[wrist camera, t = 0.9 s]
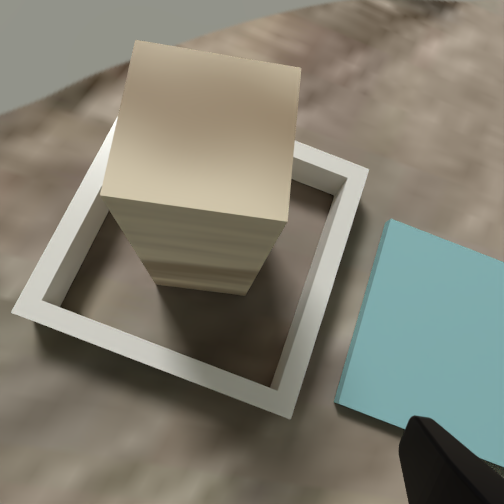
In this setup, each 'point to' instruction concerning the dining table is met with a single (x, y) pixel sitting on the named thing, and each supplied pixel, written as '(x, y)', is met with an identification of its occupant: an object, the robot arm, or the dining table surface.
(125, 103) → the birch block
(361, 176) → the tray
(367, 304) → the teal board
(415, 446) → the robot arm
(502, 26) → the dining table surface
